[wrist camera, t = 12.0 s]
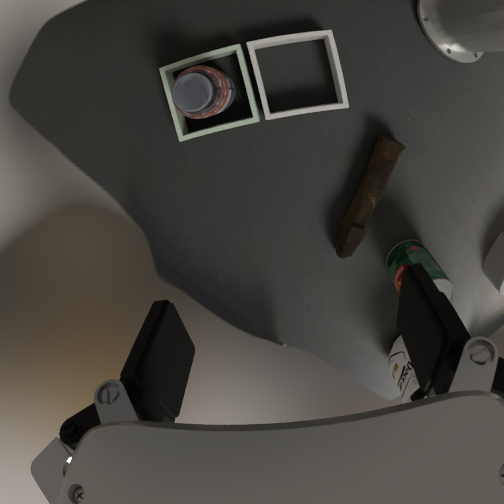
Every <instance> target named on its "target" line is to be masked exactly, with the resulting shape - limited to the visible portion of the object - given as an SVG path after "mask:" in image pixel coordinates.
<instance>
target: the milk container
mask: <svg viewBox="0 0 504 504" xmlns="http://www.w3.org/2000/svg"><path fill="white" fill-rule="evenodd" d="M388 362H389V369H390V373H391V375H392V377H393V379H394V381H395V382H396V383H397V385H398V386H399V388H400V391H401V394H402V398H403V403H408V402H412V401H416V400H420V399H424V398H427V396H426V393H425V391H423V392H422V391H421V389H420V386H419V383H418V380H417V377H416V375H415V372H414V369H413V366H412V363H411V360H410V358H409V355H408V352H407V349H406V347H405V344H404V342H403V339H402V336H401V335H400V336H399V337H398V338H397V339H396V340H395V341H394V343H393V345H392V346H391V348H390V351H389V356H388ZM434 396H436V395H434ZM431 397H432V396H431Z"/></svg>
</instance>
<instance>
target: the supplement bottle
mask: <svg viewBox="0 0 504 504" xmlns="http://www.w3.org/2000/svg"><path fill="white" fill-rule="evenodd" d="M235 94H236V89H235V84H234V82H233V80H232V79H231V78H230V76H228V75H227V74H226V73H224V72H222V71H219V70H217V69H215V68H212V67H208V66H194V67H190V68H188V69H186V70H184V71H183V72H182V73H180V74H179V76H178V77H177V78H176V80H175V82H174V84H173V86H172V92H171V95H172V101H173V104H174V106H175V107H176V109H177V110H178V111H179V112H180V113H181V114H183V115H185V116H187V117H189V118H193V119H202V118H207V117H210V116H212V115H215V114H217V113H220V112H222V111H224V110H225V109H227V108H228V107H229V106H230V105H231V104H232V102H233V100H234V98H235Z"/></svg>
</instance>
